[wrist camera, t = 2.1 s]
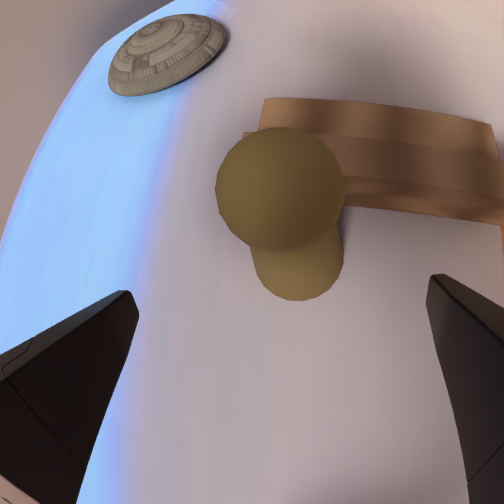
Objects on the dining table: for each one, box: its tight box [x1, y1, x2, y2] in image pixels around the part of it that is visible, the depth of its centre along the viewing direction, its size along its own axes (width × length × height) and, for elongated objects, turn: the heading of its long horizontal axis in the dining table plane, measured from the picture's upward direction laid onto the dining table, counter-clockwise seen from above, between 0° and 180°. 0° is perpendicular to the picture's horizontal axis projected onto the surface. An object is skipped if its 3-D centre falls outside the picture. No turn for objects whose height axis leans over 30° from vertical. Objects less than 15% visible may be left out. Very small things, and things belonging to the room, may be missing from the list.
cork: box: [215, 127, 345, 301], centre depth 16 cm, size 6×6×11 cm
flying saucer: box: [108, 14, 225, 96], centre depth 30 cm, size 15×15×6 cm
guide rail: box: [242, 99, 504, 249], centre depth 18 cm, size 22×17×5 cm
